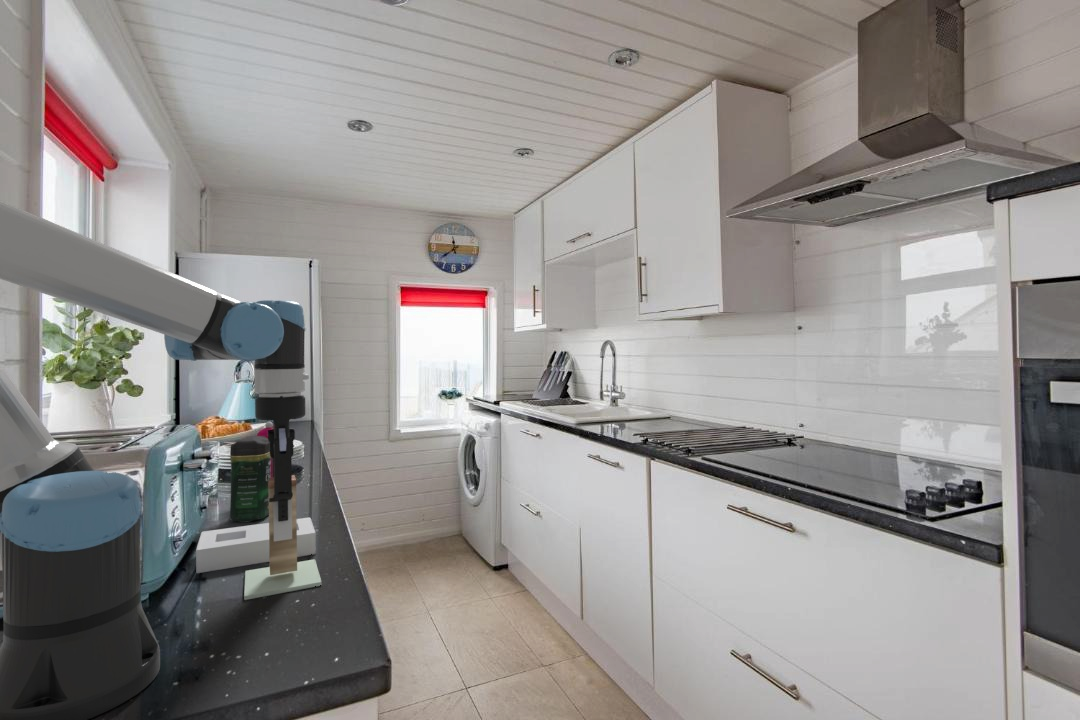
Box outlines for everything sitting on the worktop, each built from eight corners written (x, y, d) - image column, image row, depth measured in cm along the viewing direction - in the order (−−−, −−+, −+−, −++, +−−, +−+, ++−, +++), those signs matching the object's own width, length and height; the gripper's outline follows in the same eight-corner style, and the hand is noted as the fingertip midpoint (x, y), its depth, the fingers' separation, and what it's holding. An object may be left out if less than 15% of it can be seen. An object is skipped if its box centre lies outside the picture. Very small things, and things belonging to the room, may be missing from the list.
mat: (321, 585, 88) (321, 581, 88) (244, 600, 83) (244, 596, 83) (314, 562, 97) (314, 559, 97) (245, 574, 92) (245, 570, 92)
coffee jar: (264, 522, 122) (263, 439, 121) (225, 524, 120) (224, 440, 120) (276, 510, 131) (275, 433, 131) (240, 512, 129) (239, 434, 129)
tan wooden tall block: (297, 570, 89) (296, 479, 89) (270, 575, 87) (268, 482, 87) (295, 562, 93) (294, 475, 93) (269, 566, 91) (268, 477, 91)
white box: (315, 553, 102) (315, 532, 102) (196, 573, 93) (196, 550, 93) (310, 536, 111) (310, 517, 111) (202, 552, 103) (201, 531, 103)
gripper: (309, 397, 84) (311, 547, 84) (301, 390, 99) (303, 518, 99) (254, 399, 80) (257, 556, 81) (255, 392, 96) (256, 524, 96)
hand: (282, 534), depth 90 cm, fingers closed on tan wooden tall block, 4 cm apart
